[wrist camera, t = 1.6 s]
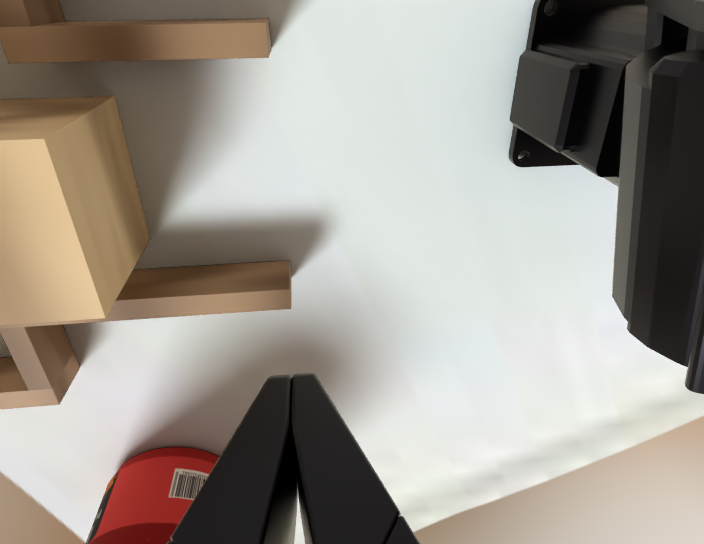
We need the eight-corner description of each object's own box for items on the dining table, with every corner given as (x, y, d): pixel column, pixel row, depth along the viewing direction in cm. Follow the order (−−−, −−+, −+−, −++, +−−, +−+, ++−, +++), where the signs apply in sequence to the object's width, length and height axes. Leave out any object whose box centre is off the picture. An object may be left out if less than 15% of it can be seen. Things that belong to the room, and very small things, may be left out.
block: (115, 95, 18) (44, 139, 13) (151, 237, 21) (105, 318, 16) (-55, 100, 17) (-200, 147, 12) (7, 245, 20) (-88, 331, 15)
